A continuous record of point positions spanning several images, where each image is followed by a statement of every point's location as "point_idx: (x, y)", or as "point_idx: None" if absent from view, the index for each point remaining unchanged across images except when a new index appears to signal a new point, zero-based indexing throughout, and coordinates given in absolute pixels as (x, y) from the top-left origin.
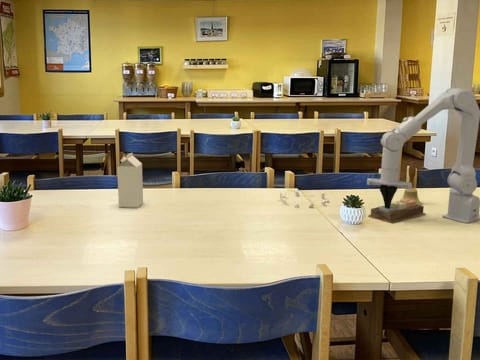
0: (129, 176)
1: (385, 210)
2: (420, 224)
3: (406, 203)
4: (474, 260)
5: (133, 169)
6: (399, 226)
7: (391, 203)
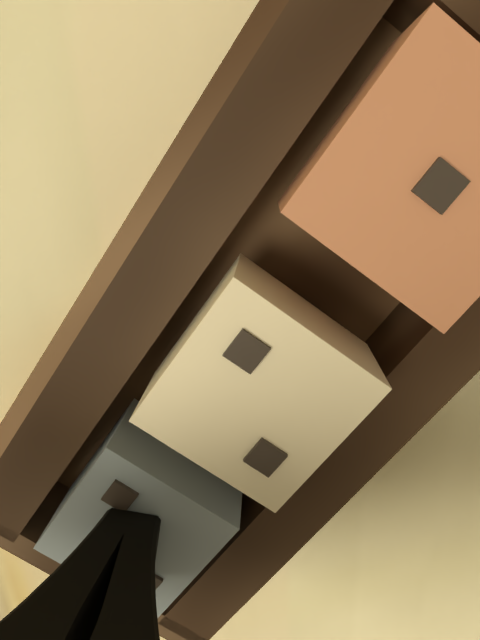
0: None
1: None
2: (475, 549)
3: (396, 295)
4: None
5: None
6: (287, 634)
7: (160, 440)
